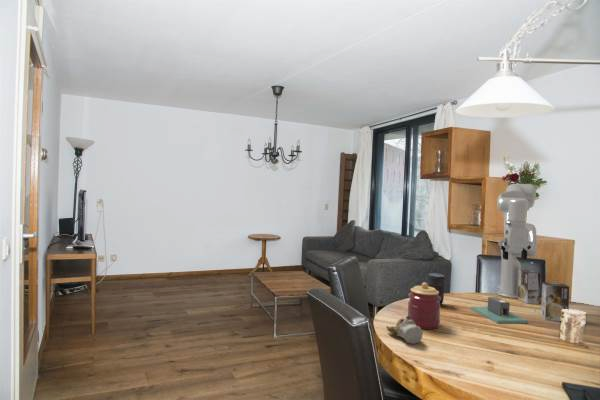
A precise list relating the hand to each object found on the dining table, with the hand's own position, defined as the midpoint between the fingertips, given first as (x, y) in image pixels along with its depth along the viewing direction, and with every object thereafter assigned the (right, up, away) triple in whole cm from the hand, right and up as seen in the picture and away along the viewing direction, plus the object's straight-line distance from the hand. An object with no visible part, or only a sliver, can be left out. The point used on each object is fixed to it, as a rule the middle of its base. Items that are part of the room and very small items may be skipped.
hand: (514, 259), depth 187 cm
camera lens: (-38, -23, +2) cm, 45 cm away
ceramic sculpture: (-65, -23, -44) cm, 82 cm away
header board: (-14, -24, -12) cm, 30 cm away
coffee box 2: (+10, -25, -14) cm, 31 cm away
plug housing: (-14, -23, -12) cm, 29 cm away
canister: (-54, -23, -28) cm, 65 cm away
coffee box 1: (+16, -25, +15) cm, 33 cm away
